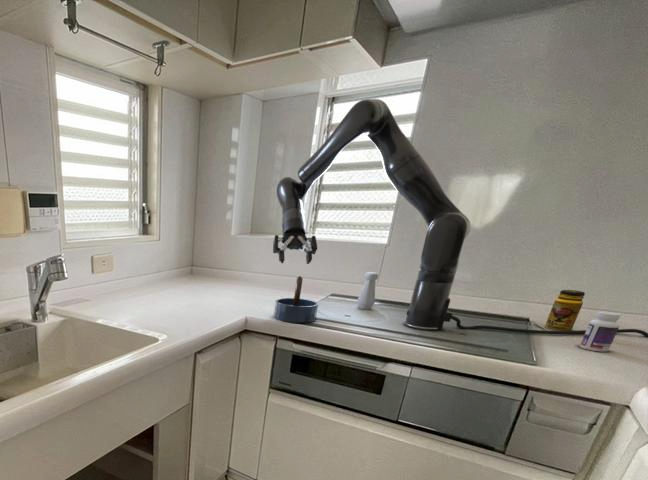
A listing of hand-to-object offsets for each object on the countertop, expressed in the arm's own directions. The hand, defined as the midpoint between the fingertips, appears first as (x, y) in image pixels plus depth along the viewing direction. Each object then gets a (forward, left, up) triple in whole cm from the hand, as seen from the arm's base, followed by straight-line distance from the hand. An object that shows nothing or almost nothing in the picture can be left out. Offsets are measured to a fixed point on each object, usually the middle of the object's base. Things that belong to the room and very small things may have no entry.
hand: (295, 262), depth 136 cm
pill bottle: (-78, +12, -17) cm, 81 cm away
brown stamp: (-2, +9, -17) cm, 19 cm away
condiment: (-79, -9, -17) cm, 82 cm away
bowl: (-2, +9, -17) cm, 19 cm away
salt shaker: (-26, -18, -17) cm, 36 cm away
